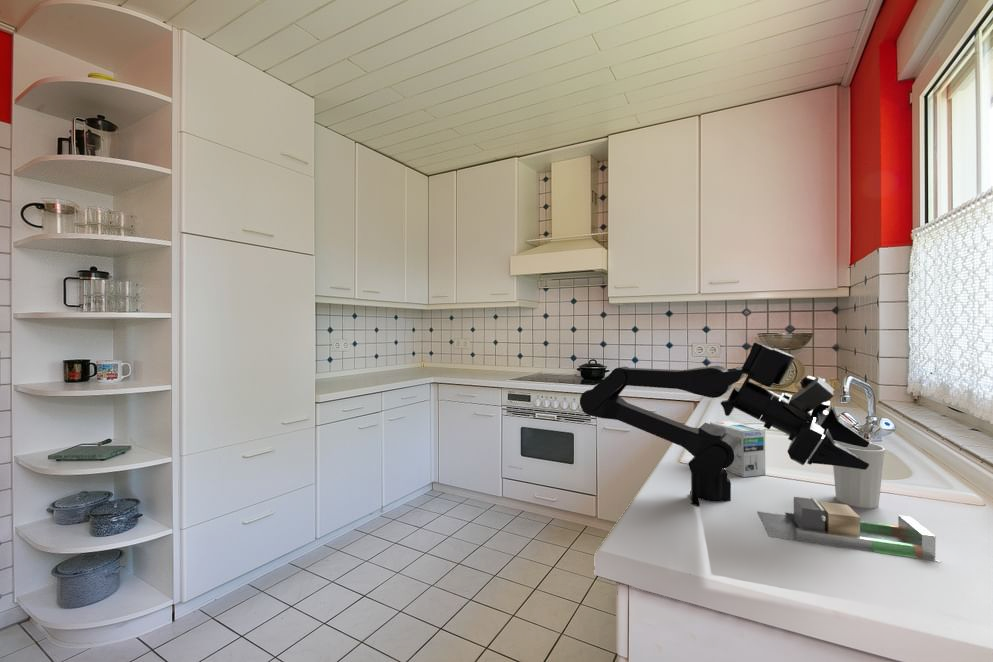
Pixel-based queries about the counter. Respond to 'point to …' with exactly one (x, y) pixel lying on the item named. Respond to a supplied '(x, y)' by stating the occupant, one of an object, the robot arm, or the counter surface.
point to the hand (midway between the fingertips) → (867, 455)
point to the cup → (860, 477)
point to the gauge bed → (846, 536)
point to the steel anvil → (917, 534)
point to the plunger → (809, 514)
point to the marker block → (841, 519)
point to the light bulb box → (746, 448)
